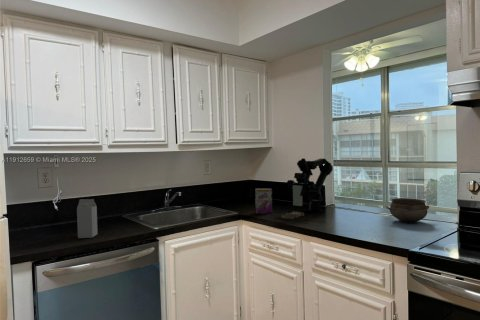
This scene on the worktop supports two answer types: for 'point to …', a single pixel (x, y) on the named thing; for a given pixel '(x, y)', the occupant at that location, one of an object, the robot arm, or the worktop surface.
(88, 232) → the milk carton
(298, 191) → the panel
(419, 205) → the cooking pot
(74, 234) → the worktop surface
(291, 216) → the rack
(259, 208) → the candy bar box
